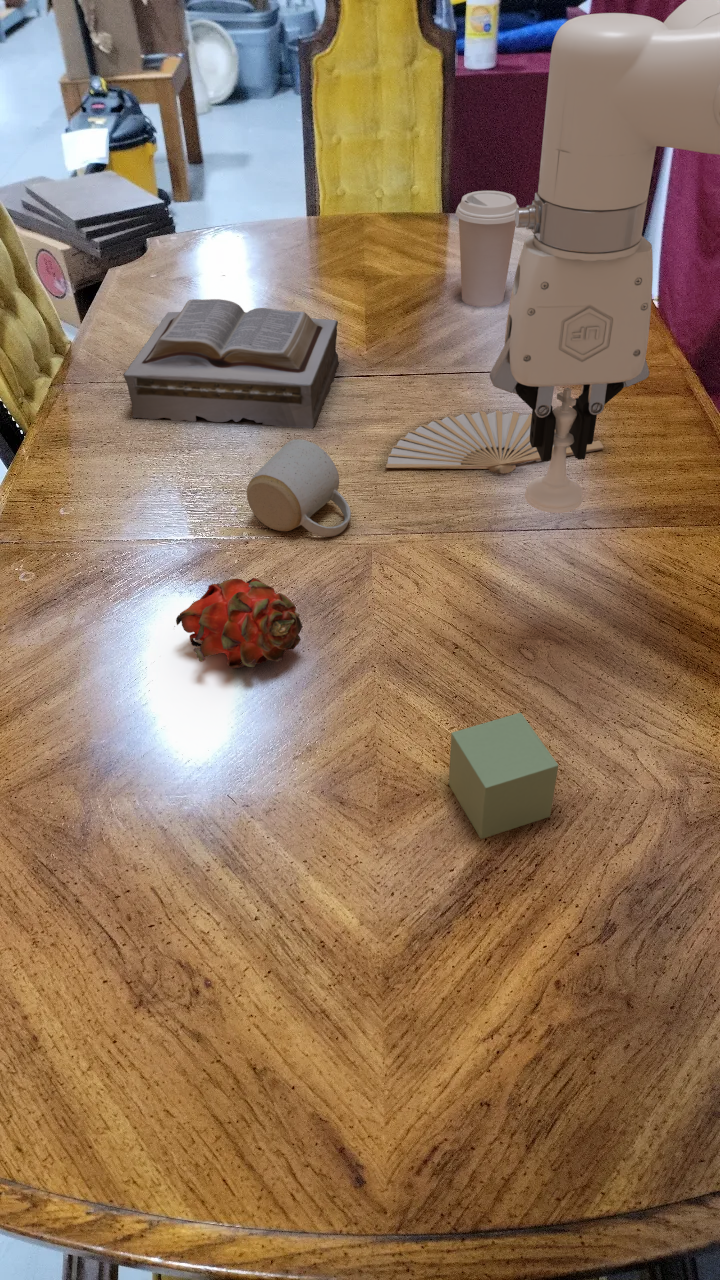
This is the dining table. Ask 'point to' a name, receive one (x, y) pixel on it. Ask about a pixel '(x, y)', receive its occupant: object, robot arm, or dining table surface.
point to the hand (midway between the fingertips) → (559, 450)
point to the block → (502, 774)
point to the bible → (235, 366)
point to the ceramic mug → (297, 489)
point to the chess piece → (557, 466)
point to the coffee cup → (485, 245)
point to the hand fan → (470, 443)
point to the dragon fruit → (242, 623)
